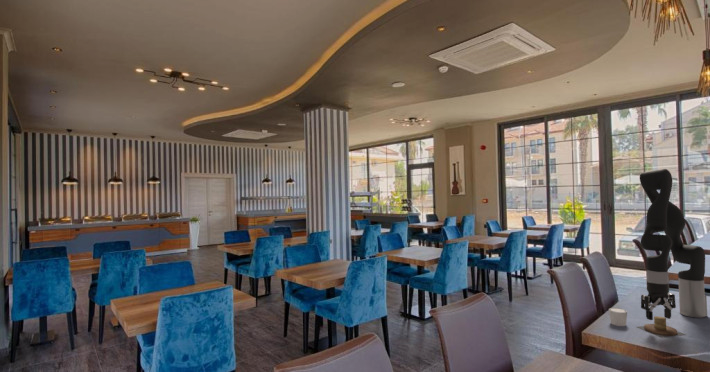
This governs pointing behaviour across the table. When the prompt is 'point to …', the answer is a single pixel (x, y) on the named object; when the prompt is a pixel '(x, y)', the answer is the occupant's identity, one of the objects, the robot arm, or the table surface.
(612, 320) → the white short cylinder
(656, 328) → the walnut lid
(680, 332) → the rubber mat
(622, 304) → the table surface
